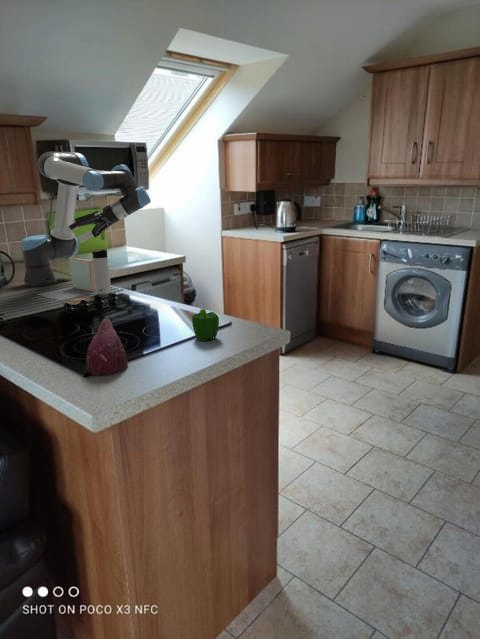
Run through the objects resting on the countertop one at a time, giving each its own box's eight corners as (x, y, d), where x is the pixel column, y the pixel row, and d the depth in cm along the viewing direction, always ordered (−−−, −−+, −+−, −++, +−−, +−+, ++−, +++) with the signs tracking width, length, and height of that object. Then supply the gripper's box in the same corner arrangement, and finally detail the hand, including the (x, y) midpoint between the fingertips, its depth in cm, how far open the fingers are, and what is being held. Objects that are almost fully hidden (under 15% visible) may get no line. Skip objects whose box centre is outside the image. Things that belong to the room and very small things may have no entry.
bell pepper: (205, 332, 149) (204, 302, 146) (224, 337, 144) (223, 306, 141) (186, 339, 143) (184, 308, 140) (206, 344, 138) (204, 312, 135)
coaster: (69, 300, 195) (68, 298, 195) (98, 298, 197) (98, 296, 197) (64, 307, 184) (63, 305, 183) (95, 305, 186) (95, 303, 185)
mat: (80, 286, 222) (80, 285, 222) (104, 291, 210) (104, 290, 209) (36, 295, 206) (36, 294, 206) (60, 301, 193) (59, 300, 193)
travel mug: (102, 297, 199) (97, 251, 193) (94, 295, 203) (88, 249, 198) (114, 294, 204) (110, 249, 198) (106, 292, 208) (101, 248, 202)
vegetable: (102, 371, 128) (98, 317, 128) (135, 370, 125) (131, 315, 125) (78, 377, 118) (73, 318, 118) (112, 376, 115) (108, 315, 115)
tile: (76, 287, 218) (72, 257, 214) (96, 291, 208) (92, 260, 204) (72, 287, 217) (68, 258, 213) (92, 292, 207) (88, 261, 203)
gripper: (107, 211, 180) (61, 237, 182) (129, 227, 205) (88, 250, 206) (99, 194, 181) (52, 220, 182) (121, 212, 206) (80, 235, 207)
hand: (71, 236), depth 194 cm, fingers open, 13 cm apart
